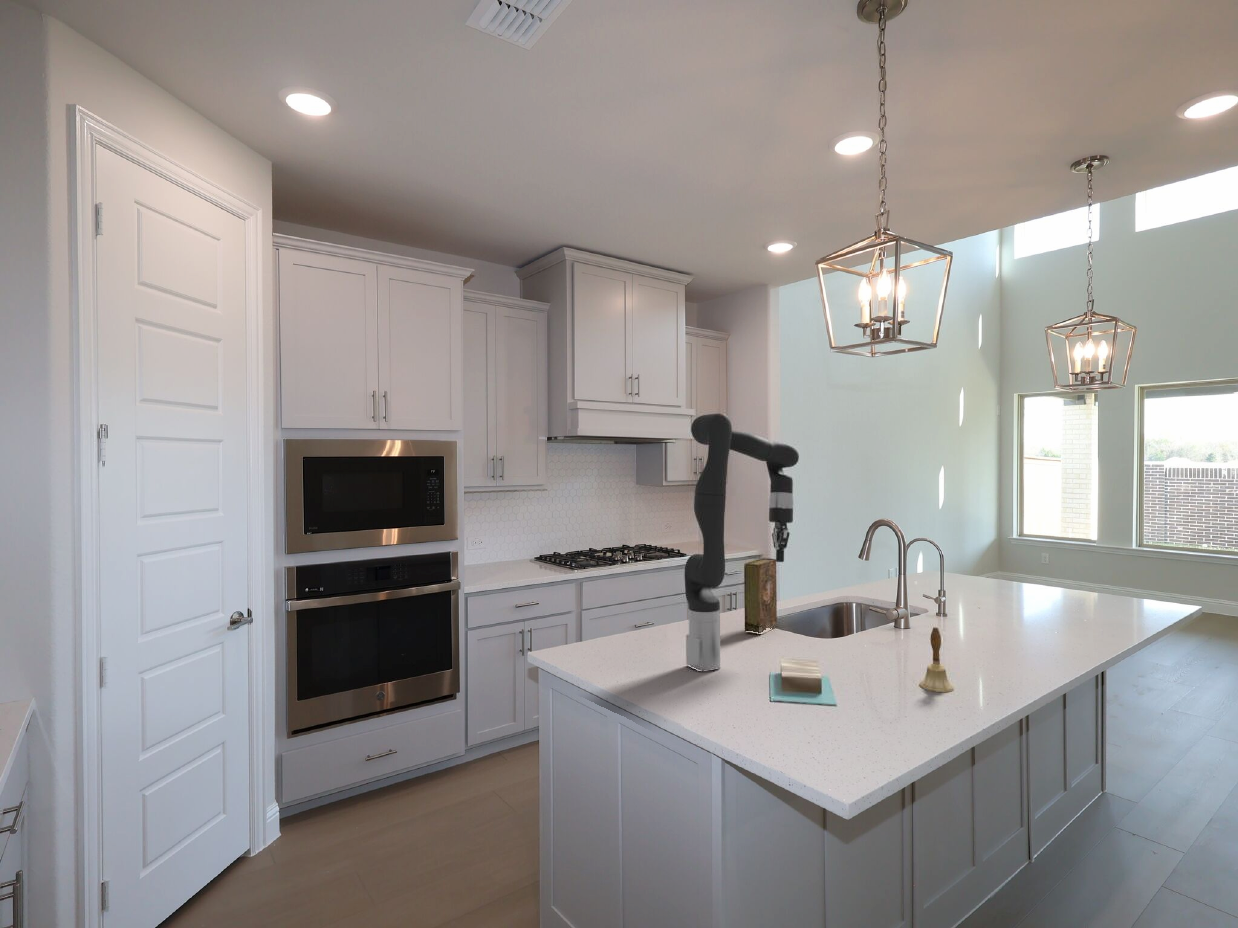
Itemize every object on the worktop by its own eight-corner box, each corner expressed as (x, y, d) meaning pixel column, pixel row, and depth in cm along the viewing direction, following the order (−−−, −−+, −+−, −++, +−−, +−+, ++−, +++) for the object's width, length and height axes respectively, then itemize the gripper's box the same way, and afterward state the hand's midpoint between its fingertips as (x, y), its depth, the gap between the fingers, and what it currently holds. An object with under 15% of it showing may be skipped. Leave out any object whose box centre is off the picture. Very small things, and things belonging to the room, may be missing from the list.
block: (817, 674, 185) (821, 693, 169) (780, 672, 187) (782, 691, 172) (816, 660, 185) (821, 678, 169) (780, 658, 187) (781, 675, 172)
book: (764, 624, 245) (763, 557, 245) (778, 626, 241) (777, 558, 242) (744, 633, 232) (743, 563, 232) (759, 636, 228) (758, 564, 228)
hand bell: (958, 693, 170) (957, 631, 170) (924, 691, 171) (923, 630, 171) (948, 682, 178) (947, 624, 178) (915, 681, 180) (915, 623, 180)
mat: (836, 705, 162) (836, 703, 162) (770, 701, 165) (770, 699, 165) (828, 677, 183) (828, 675, 183) (770, 673, 187) (770, 672, 187)
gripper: (764, 508, 217) (763, 561, 214) (774, 505, 204) (773, 561, 201) (787, 509, 217) (786, 562, 214) (798, 506, 204) (797, 562, 201)
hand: (779, 561), depth 208 cm, fingers closed
